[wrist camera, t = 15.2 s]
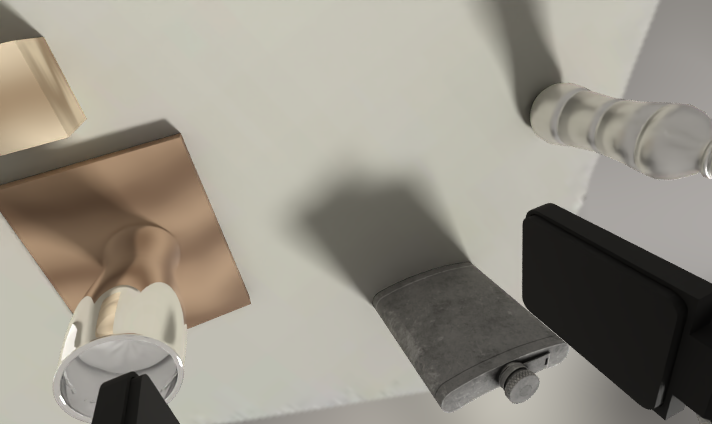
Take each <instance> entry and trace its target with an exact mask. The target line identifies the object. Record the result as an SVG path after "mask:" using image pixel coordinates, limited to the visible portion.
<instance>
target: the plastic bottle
mask: <svg viewBox="0 0 712 424" xmlns="http://www.w3.org/2000/svg"><path fill="white" fill-rule="evenodd" d="M530 123H531V126H532V128H533V131H534V133H535V134H536V135H537V136H538V137H539V138H541V139H542V140H544V141H546V142H547V143H550V144H554V145H560V146H572V147H576V148H581V149H585V150H589V151H594V152H596V153H599V154H601V155H604V156H607V157H609V158H612V159H614V160H617V161H619V162H621V163H623V164H625V165H627V166H629V167H630V168H633V169H634V170H637V171H638V172H641V173H642V174H644V175H646V176H649V177H651V178H654V179H660V180H674V179H679V178H684V177H688V176H691V175H695V174H698V173H701V174H702V175H703V177H705V178H709V179H712V119H711V118H710V117H709V116H708V115H707V114H706V113H705V112H704V111H702V110H700V109H698V108H696V107H695V106H693V105H689V104H681V103H661V102H659V103H658V102H639V101H632V100H624V99H617V98H613V97H610V96H606V95H603V94H599V93H596V92H593V91H590V90H589V89H587V88H585V87H582V86H579V85H576V84H573V83H558V84H553V85H551V86H549V87H548V88H546V89H544V90H543V91H542V92H541V93H540V94H539V95H538V96H537V97H536V99H535V100H534V102H533V105H532V107H531V111H530Z"/></svg>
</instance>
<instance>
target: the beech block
mask: <svg viewBox="0 0 712 424" xmlns="http://www.w3.org/2000/svg"><path fill="white" fill-rule="evenodd" d="M86 119H87V118H86V116H85V115H84V113H83V111H82V109H81V107H80V105H79V103H78V101H77V99H76V97H75V96H74V94H73V92H72V90H71V88H70V86H69V84H68V82H67V80H66V78H65V77H64V75H63V73H62V71H61V69H60V67H59V65H58V63H57V61H56V59H55V58H54V56H53V54H52V52H51V50H50V48H49V46H48V44H47V42H46V40H45V39H44V37H40V38H31V39H22V40H14V41H10V42H5V43H0V156H2V155H6V154H9V153H13V152H17V151H20V150H24V149H28V148H31V147H35V146H39V145H42V144H46V143H50V142H53V141H57V140H61V139H64V138H68V137H69V136H70V135H71V134H72V133H73V132H74V131H75V130H76V129H77V128H78V127H79V126H80V125H81V124H82V123H83V122H84V121H85V120H86Z"/></svg>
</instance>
